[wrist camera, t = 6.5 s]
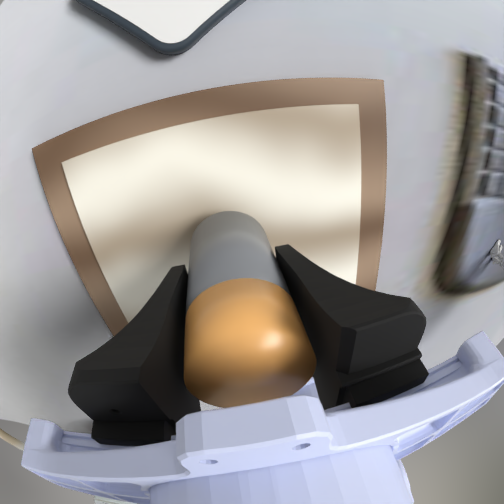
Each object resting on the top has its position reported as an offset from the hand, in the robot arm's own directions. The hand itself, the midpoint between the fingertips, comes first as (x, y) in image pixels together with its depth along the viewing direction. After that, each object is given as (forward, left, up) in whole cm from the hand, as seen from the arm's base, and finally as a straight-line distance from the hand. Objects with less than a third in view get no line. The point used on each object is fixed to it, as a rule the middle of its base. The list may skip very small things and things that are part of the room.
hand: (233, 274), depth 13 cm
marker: (0, 0, -2) cm, 2 cm away
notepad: (0, 0, -4) cm, 4 cm away
